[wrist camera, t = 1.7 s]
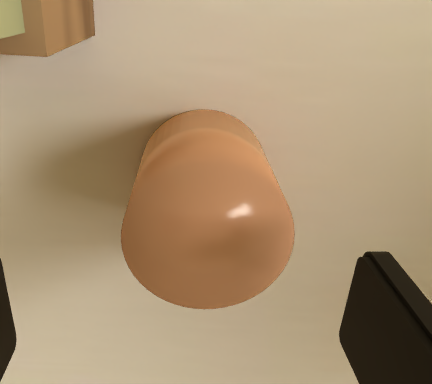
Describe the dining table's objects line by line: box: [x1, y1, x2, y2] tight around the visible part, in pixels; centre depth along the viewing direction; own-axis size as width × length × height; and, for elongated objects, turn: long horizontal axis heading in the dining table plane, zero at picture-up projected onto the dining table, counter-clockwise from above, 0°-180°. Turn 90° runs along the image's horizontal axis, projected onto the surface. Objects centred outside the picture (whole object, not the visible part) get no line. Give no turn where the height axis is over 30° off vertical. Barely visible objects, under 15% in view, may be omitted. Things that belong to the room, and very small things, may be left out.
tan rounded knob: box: [121, 110, 294, 309], centre depth 16 cm, size 6×6×6 cm
